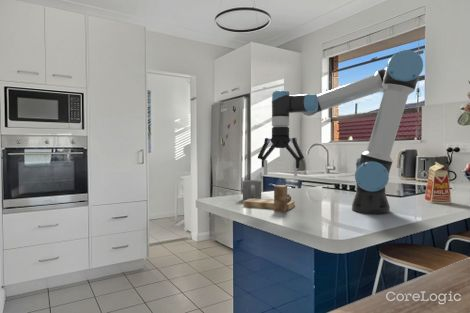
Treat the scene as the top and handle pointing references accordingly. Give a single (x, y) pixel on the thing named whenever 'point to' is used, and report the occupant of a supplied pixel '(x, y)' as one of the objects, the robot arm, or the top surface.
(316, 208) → the top surface
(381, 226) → the top surface
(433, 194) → the milk carton
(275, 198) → the block
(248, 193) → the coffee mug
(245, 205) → the oak board
